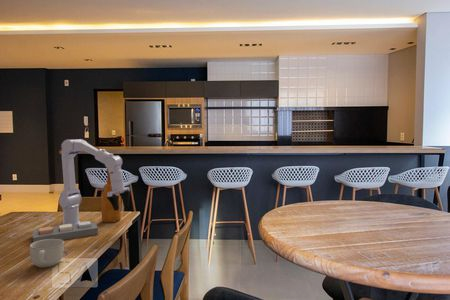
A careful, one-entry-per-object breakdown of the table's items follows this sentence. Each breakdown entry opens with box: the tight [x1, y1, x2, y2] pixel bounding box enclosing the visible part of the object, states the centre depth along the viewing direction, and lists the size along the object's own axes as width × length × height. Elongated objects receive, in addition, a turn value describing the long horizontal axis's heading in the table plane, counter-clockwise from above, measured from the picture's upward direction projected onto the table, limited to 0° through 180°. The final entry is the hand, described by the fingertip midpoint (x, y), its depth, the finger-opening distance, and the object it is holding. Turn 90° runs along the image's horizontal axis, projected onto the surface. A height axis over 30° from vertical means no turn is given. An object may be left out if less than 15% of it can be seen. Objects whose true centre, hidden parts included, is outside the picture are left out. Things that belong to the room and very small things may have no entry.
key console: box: [32, 221, 99, 243], centre depth 148 cm, size 12×26×3 cm, turn 121°
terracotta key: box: [38, 226, 53, 235], centre depth 143 cm, size 5×5×2 cm
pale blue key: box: [78, 220, 91, 229], centre depth 152 cm, size 5×5×2 cm
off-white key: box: [58, 224, 72, 232], centre depth 147 cm, size 5×5×2 cm
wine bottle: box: [100, 167, 122, 223], centre depth 170 cm, size 10×10×30 cm
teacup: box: [29, 239, 65, 268], centre depth 115 cm, size 14×11×8 cm
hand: (121, 208), depth 155 cm, fingers open, 7 cm apart
